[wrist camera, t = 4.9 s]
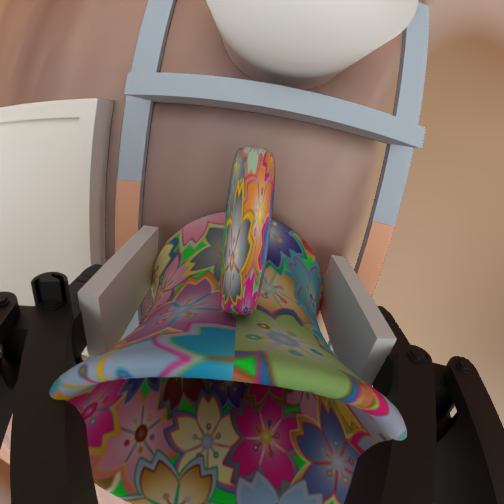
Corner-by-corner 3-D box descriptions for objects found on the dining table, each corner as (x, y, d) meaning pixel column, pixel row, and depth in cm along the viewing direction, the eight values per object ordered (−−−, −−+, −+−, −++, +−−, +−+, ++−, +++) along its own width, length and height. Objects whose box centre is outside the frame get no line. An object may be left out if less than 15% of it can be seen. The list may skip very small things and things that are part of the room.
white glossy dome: (212, 79, 14) (171, 34, 6) (235, -24, 11) (220, -109, 4) (342, 103, 14) (412, 83, 7) (357, 0, 12) (416, -66, 4)
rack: (133, 409, 24) (121, 442, 20) (166, -42, 10) (146, -73, 7) (303, 434, 24) (307, 468, 21) (425, 9, 11) (458, -11, 8)
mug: (306, 359, 17) (335, 523, 8) (154, 343, 17) (98, 500, 7) (354, 155, 13) (540, 227, 3) (153, 132, 13) (-41, 161, 3)
